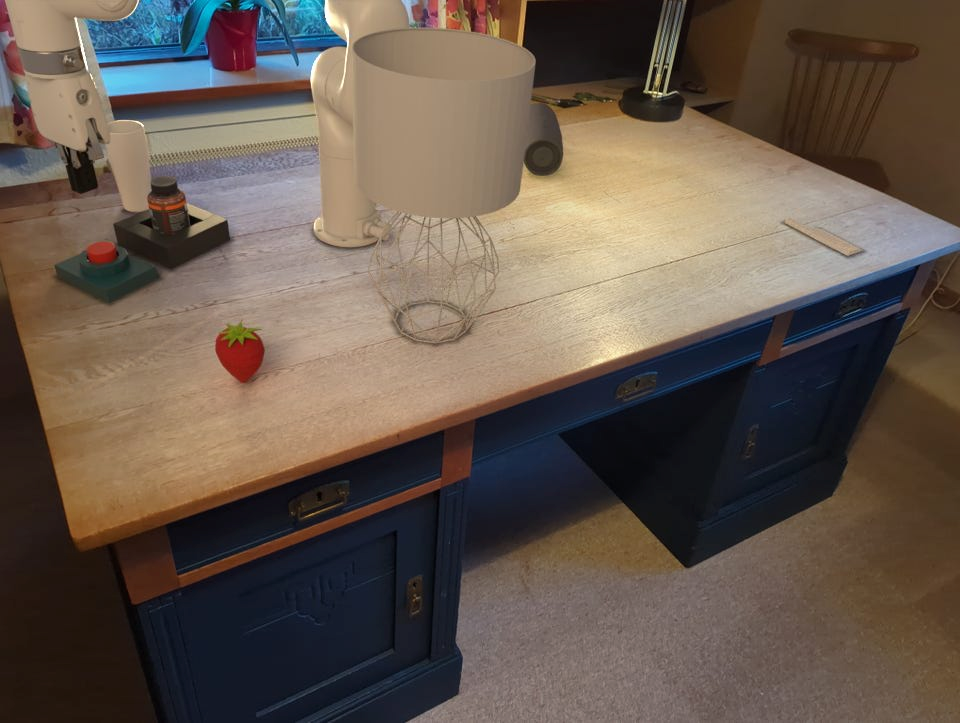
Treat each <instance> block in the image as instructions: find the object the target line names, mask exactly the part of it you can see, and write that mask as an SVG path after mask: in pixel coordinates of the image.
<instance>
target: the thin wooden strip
mask: <svg viewBox="0 0 960 723" xmlns="http://www.w3.org/2000/svg"><path fill="white" fill-rule="evenodd" d="M784 224H786V225H788V226H790V227H792V228H794V229H795V230H798V231H799V232H801V233H803V234H805V235H807V236H809V237H811V238H812V239H815V240H816V241H818V242H820V243H821V244H823V245H825V246H827V247H830V248H831V249H833V250H835V251H837V252H839V253H841V254H843V255H845V256H847V257H849V256H852V255H854V254H857V253H860V252H864V249H862V248H861V247H859V246H857V245H855V244H852V243H850V242H848V241H846V240H845V239H843V238H840V237H838V236H837V235H836V234H835V235H834V234H833V233H831V232H829V231H827V230H825V229H822V228H819V227H815V228H814V229H813V228H810V227H808V226H807V225H805V224H803V223H801V222H799V221H797V220H795V219H794V218H792V217H789V218H786V219H785V221H784Z"/></svg>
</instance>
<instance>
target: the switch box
mask: <svg viewBox="0 0 960 723" xmlns="http://www.w3.org/2000/svg"><path fill="white" fill-rule="evenodd" d="M114 245H115V244H114ZM115 248H116V252H117V258H116V259H115V260H112V261H110V262H106V263H92V262H90V261H89V258H88V254H87V248H86V249H84V250H82V251H81V252H80V253H79V254H76V255H73V256H72V257H69V258H67V259H65V260H62V261H60V262H58V263H56V264H53V266H54V269H55V272H56V277H57V278H59V279H61V280H63V281H65V282H67V283H69V284H71V285H73V286H75V287H77V288H79V289H80V290H82V291H85V292H87V293H89V294H91V295H93V296H95V297H97V298H98V299H101V300H103V301H105V302H106V303H108V304H111V303H112V302H114V301H116V300H118V299H119V298H122V297H124V296H126V295H128V294H130V293H132V292H134V291H136V290H138V289H140V288H142V287H144V286H146V285H148V284H150V283H152V282H154V281H156V280H158V279H159V276H158V272H157V267H156V266H155V265H152V264H151V263H148V262H146V261H144V260H142V259H140V258H137V257H136V256H134V255H131V254H130V253H128V252H127V249H126V248H124V247H121V246H119V245H118V244H116V245H115Z"/></svg>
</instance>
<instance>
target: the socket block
mask: <svg viewBox="0 0 960 723" xmlns="http://www.w3.org/2000/svg"><path fill="white" fill-rule="evenodd" d="M187 208H188V214H189V219H190V225H191V226H190V227H188V228H186V229H184V230H182V231H179V232H177V233H175V234H173V235H171V236H167V235H165V234H163V233H160V232H158V231H156V230H153V225H152V220H151V216H150V211H149V209H148V210H145V211H143V212H137V213H135V214H134V215H131V216H128V217H126V218H124V219H121V220H119V221H116V222H114V223H113V224H112V225H113V230H114V233H115V238H116V243H117V246H120V247H122V248H124V249H126V250H128V251H130V252H132V253H135V254H136V255H138V256H141V257H143V258H146V259H148V260H149V261H151V262H154V263H156V264H159V265H160V266H162V267H164V268H167V269H170V270H173V269H175V268H177V267H178V266H181V265H183V264H185V263H187V262H189V261H191V260H193V259H196V258H197V257H199V256H201V255H203V254H205V253H208V252H209V251H211V250H213V249H215V248H217V247H219V246H221V245H223V244H226V243H228V242H229V241H231V236H230V228H229V220H228V219H227V218H224V217H222V216H220V215H217V214H214V213H212V212H210V211H207V210H205V209H202V208H200V207H198V206H195V205H193V204H190V203H188V202H187Z"/></svg>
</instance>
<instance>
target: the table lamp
mask: <svg viewBox="0 0 960 723" xmlns="http://www.w3.org/2000/svg"><path fill="white" fill-rule="evenodd" d="M535 71H536V58H535V55H534V54H533V53H532V51H529V50H528V49H527V48H525V47H524V46H522V45H520V44H518V43H515V42H512V41H511V40H508V39H505V38H501V37H497V36H494V35H491V34H486V33H481V32H476V31H468V30H462V29H453V28H444V27H410V28H398V29H389V30H383V31H378V32H373V33H370V34H367V35H364V36H362V37H360V38H358V39H357V40H356V41H355V42H354V43H353V45H352V82H353V133H354V180H355V184H356V186H357V188H358V189H359V191H360V192H361V193H362V194H363V195H364V196H366V197H367V198H368V199H370V200H371V201H373V202H375V203H376V205H378V206H381V207H384V208H387V209H389V210H392V211H395V214H394V215H393V216H392V217H391V218H390V219H389V220H388V222H386V223H387V224H386V226H385V228H384V230H383V232H382V234H381V236H380V238H379V240H378V241H376V244H375V246H374V249H373V251H372V253H371V255H370V256H369V261H368V266H367V273H368V275H369V277H370V280H371V281H372V283H373V285H374V287H375V290H376V291H377V293H378V295H379V297H380V299H381V301H382V302H383V305H384V306H385V308H386V310H387V312H388V313H389V315H390V317H391V319H392V322H394V324H395V326H396V327H397V330H398V331H399V333H400V334H401V335H404V336H406V337H407V338H409V339H411V340H414V341H415V342H420V343H421V342H422V343H429V344H439V343H444V342H445V343H446V342H450V341H451V342H452V341H455V340H457V339H459V337H461V336H462V335H464V334H465V333H467V331H468V330H469V328H470V327H471V326H472V325H473V323H474V322H475V320H476V319H477V317H478V316H479V314H481V312H482V310H483V309H484V308H485V306H486V304H487V303H488V302H489V300H490V298H491V297H492V295H493V294H494V292H495V291H496V289H497V286H496V284H497V283H496V278H497V276H498V275H499V273H500V262H499V255H498V252H497V251H496V247H495V245H494V242H493V240H492V238H491V236H490V235H489V233H488V231H487V230H486V229H485V227H484V226H483V224H482V223H481V221H480V220H479V219H478V217H479V216H484V215H488V214H492V213H495V212H498V211H500V210H502V209H505V208H507V207H508V206H510V205H512V203H513V202H515V201H516V199H517V198H518V197H519V195H520V192H521V187H522V186H521V185H522V178H523V170H524V169H523V168H524V154H525V145H526V137H527V129H528V121H529V113H530V105H531V104H532V95H533V88H534V79H535ZM402 214H404V215H403V216H402V217H401V218H400V219H399V217H400V216H401V215H402ZM408 215H409V216H408ZM412 216H415V217H423V219H422V222H419V221H417V220H415V219H414V218H411V217H412ZM426 218H429V219H428V225H425V221H426ZM432 218H433V219H439V223H436V224H434V225H431V219H432ZM465 218H467V219H468V221H469V223H470V225H471V227H472V228H473V229H472V228H471V227H470V226H469V225H468V224H467V223H466V222H465V221H464V220H463V219H465ZM471 218H472V219H473V220H474V222H475V223H476V225H477V226H478V229H479V232H480V234H479V232H478V230H477V228H476V227H475V225H474V223H473V221H472V220H471ZM398 219H399V220H398ZM405 219H406V221H405ZM443 219H446V220H444V221H443ZM454 219H455V220H456V224H457V228H458V229H457V230H458V245H457V250H456V255H455V260H454V263H453V264H454V265H452V264H451V262H450V261H449V260H448V259H447V258H446V257H445V255H444V254H443V253H444V250H443V249H444V248H443V224H445V223H447V222H449V221H452V220H454ZM397 220H398V221H397ZM396 221H397V222H396ZM409 221H412V222H414V223H416V224H418V225H420V226H421V227H420V230H419V234H418V237H417V241H416V244H415V248H414V251H413V255H412V257H411V258H410V260H408V261H407V263H403V259H402V253H401V249H400V238H401V235H402V233H403V231H404V229H405V228H406V226H407V225H408V223H409ZM395 222H396V223H395ZM404 222H405V223H404ZM460 222H461V223H462V224H463V225H464V226H465V227H466V228H468V229H469V231H470V232H472V234H474V235H475V236H476V237H477V238H478V239H479V241H480V243H481V245H482V247H483V255H479V256H478V257H476V258H474V259H471V257H470V255H469V252H468V248H467V244H466V242H465V238H464V235H463V231H462V228H461V225H460ZM394 223H395V224H394ZM400 223H401V224H400ZM388 224H390V226H389V227H388V228H387V229H386V227H387V225H388ZM399 224H400V227H399V229H398V234H397V236H396V238H395V239H394V241H393V243H392V245H391V246H390V249H389V250H388V251H387V252H388V253H387V255H386V257H385V258H384V257H383V256H382V254H383V253H382V252H383V251H382V248H383V246H382V245H383V244H382V239H383V238H384V237H385V236H386V235H387V234H388V233H389V232H390V233H391V232H392V230H394V229H395V228H396V227H397V225H399ZM391 226H392V228H391V229H390V230H389V231H388V229H389V228H390V227H391ZM437 226H440V250H439V249H438V248H437V247H436V246H435V245H434V244H433V243H432V242H431V241H430V231H431V229H432V228H435V227H437ZM423 228H426V229H427V238H426V241H424V243H423V244H422V246H420V247H419V249H418V246H419V243H420V240H421V236H422V232H423ZM385 229H386V231H385ZM384 231H385V232H384ZM387 231H388V232H387ZM482 231H483V232H484V233H485V234H486V236H487V237H488V238H487V239H486V240H485V238H484V234H483V232H482ZM386 232H387V233H386ZM385 233H386V234H385ZM384 234H385V235H384ZM383 235H384V236H383ZM461 241H462V243H463V246H464V249H465V253H466V257H467V259H468V261H466V262H465V263H462V264H460V265H458V266H457V261H458V257H459V251H460V247H461ZM488 242H489V246H490V247H489V248H490V253H489V250H488V248H487V247H486V243H488ZM426 244H427V246H426ZM395 245H396V246H397V250H398V255H399V260H400V265H398V264H395V263H393V262H391V261H390V260H388V259H389V256H390V255H391V252H392V250H393V249H394V247H395ZM425 246H426V247H427V248H426V249H427V255H426V256H427V261H426V262H427V263H426V264H427V265H426V266H427V268H426V269H427V270H426V272H427V273H425V272H424V271H423V270H422V269H421V268H420V267H419V266H418V265H417V264H416V263H415V262H414V261H415V257H416V256H417V255H418V254H419V252H421V250H422V249H423V248H424V247H425ZM430 246H432V248H434V250H435V251H436V252H437V253H438V254H439V255H440V282H441V283H440V285H439V286H438V285H437V284H436V283H435V282H434V281H433V280H432V279H431V278H430ZM378 252H379V255H378ZM374 254H375V267H376V279H377V284H376V282H375V280H374V277H373V276H372V274H371V271H370V269H371V265H372V264H371V263H372V259H373V256H374ZM494 254H495V258H496V266H497V271H496V270H495V261H494ZM490 255H491V256H490ZM487 258H488V261H489V264H490V267H491V270H489V269H488V268H487ZM479 259H481V262H480V264H478V263H476V262H475V261H477V260H479ZM382 260H383V261H384V263H383V261H382ZM444 261H445V262H446V263H447V264H448V265H449V267H451V269H452V270H450V272H449V274H448V275H447V276H446V277H445V279H444ZM387 263H388V264H390V265H391V266H394V268H391V269H389V270H387V271H384V270H385V267H386V265H387ZM483 263H484V266H482V265H483ZM408 265H410V266H409V272H407V271H406V268H407V266H408ZM472 265H474V266H476V267H478V269H477V271H476V274H475V276H474V272H473V266H472ZM413 266H414V267H415V268H416V269H417V270H418V271H419V273H421V274H422V275H423V276H424V277H425V278H426V280H427V284H426V285H427V293H426V294H427V297H426V295H425V293H423V291H422V290H421V288H419V287H418V285H417V284H416V282H415V281H414V280H413V279H412V277H411V274H412V270H413ZM467 267H469V268H470V274H471V279H472V280H471V281H472V283H471V285H470V288H469V290H468V292H467V294H466V296H465V298H464V301H463V303H462V305H461V300H460V299H461V298H460V293H459V287H458V286H459V285H458V279H457V278H458V277H459V276H460V275H461V273H463V271H464V270H465V269H466V268H467ZM459 268H462V269H460V270H459V272H458V273H456V270H457V269H459ZM398 269H400V270H401V278H400V285H399V287H400V288H399V296H398V305H397V302H396V300H395V298H394V295H393V292H392V290H391V287H390V285H389V283H388V280H387V278H386V275H385V274H388V273H390V272H392V271H396V270H398ZM480 269H482V270H484V292H483V293H481V294H480V295H479V296H477V297H476V283H475V282H476V281H477V277H478V275H479V273H480ZM487 272H488V273H490V274H492V275H493V278H492V280H491V282H490V283H489V285H487V283H488V282H487ZM382 276H383V279H384V281H385V284H386V286H387V289H388V291H389V294H390V296H391V298H390V297H389V296H388V295H387V294H386V293H385V292H384V291H383V290H382V289H381V284H382ZM406 276H407V277H406ZM450 276H451V278H450V281H449V282H448V283H447V285H445V287H444V283H445V282H446V281H447V280H448V278H449V277H450ZM403 280H404V283H405V296H404V305H405V306H404V307H402V308H400V307H401V299H402V288H403ZM410 281H411V283H412V284H413V285H414V286H415V287H416V290H418V292H420V294H421V295H422V297H423V298H424V299H425V300H424V301H417V302H412V300H411V296H410V290H409V284H410ZM453 282H455V287H456V294H457V300H458V306H459V308H458V307H456V306H453V305H452V304H449V303H448V301H449V296H450V292H451V289H452V288H451V287H452V284H453ZM430 283H431V284H432V285H433V286H434V287H435V288H436V289H435V291H434V292H433V293H432V294H431V295H430ZM492 284H493V288H491V286H492ZM447 288H448V290H447ZM472 288H473V300H472V301H471V302H470V303H468V304H467V305H465V304H466V302H467V300H468V297H469V295H470V293H471V291H472ZM446 290H447V295H446V300H445V302H443V299H444V298H443V297H444V291H446ZM438 291H439V292H440V301H433V300H431V299H432V298H433V297H434V296H435V294H436V293H437V292H438ZM487 293H488V294H487ZM479 299H480V300H479ZM407 300H409V304H408V301H407ZM477 300H479V301H478V303H477V305H476V306H475V304H476V302H477ZM425 303H432V304H440V306H438V307H436V308H432V309H430V310H427V311H425V312H423V313H422V312H421V313H420V314H417V315H414V316H413V317H411V315H410V311H409V307H410V306H413V305H419V304H425ZM388 304H389V305H388ZM443 305H446V306H449V307H451V308H453V309H455V310H457V311H459V312H460V313H461V314H460V313H458V312H456V311H453V310H451V309H449V308H447V307H444V306H443ZM481 305H482V306H481ZM389 306H391V307H392V308H393V309H394V310H396V315H395V317H394V315H393V313H392V311H391V309H390V307H389ZM469 306H470V308H469V310H468V312H467V314H465V313H464V312H463V311H464V310H465V309H467V308H468V307H469ZM474 306H475V307H474ZM480 306H481V308H480ZM479 308H480V309H479ZM405 309H406V312H407V313H406V312H405V311H404V310H405ZM437 310H439V315H438V323H437V328H436V333H435V339H434V338H432V337H431V336H430V335H429V334H428V333H427V332H426V331H425V330H424V329H423V328H421V326H419V324H417V323H416V321H414V320H413V319H415V318H418V317H421V316H423V315H427V314H430V313H432V312H434V311H437ZM443 310H445V311H447V312H449V313H452V314H454V315H456V316H459V317H461V318H463V319H462V320H461V321H459V322H458V323H457V324H456V325H454V326H453V327H452V328H450V330H448V331H447V332H446V333H445V334H443V335H441V337H440V338H438V337H439V336H438V335H439V330H440V324H441V318H442V311H443ZM400 312H401V313H402V314H403V315H404V317H406V318H407V319H408V320H407V321H406V322H405V324H404V326H403V327H402V328H400V326H399V324H398V321H397V319H398V317H399V314H400ZM408 324H410V326H411V330H412V333H413V336H411V335H409V334H407V333H406V332H403V331H404V330H405V329H406V327H407V326H408ZM414 326H416V327H417V328H418V329H419V330H420V331H421V332H422V333H423V334H424V335H425V336H426V337H427V338H429V339H430V340H424V339H419V338H417V336H416V332H415V329H414ZM458 326H459V328H458V330H457V331H456V333H455V334H454V335H455V336H454V337H453V338H450V339H449V338H448V339H444V338H445V337H446V336H447V335H449V333H452V331H453V330H455V329H456V328H457V327H458ZM463 326H464V331H462V332H461V329H463ZM460 332H461V333H460ZM442 339H443V340H442Z"/></svg>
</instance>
